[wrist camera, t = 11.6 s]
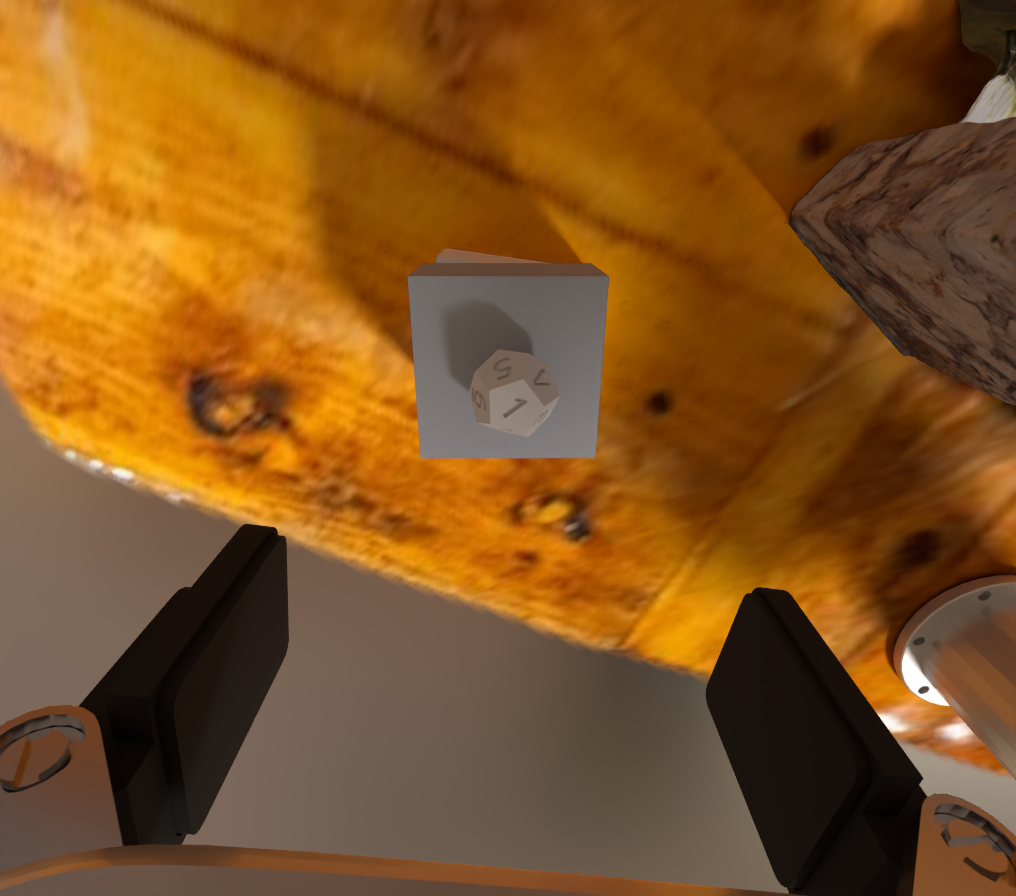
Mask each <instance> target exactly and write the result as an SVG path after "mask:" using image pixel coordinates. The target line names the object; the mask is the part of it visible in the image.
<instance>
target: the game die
mask: <svg viewBox="0 0 1016 896" xmlns="http://www.w3.org/2000/svg"><path fill="white" fill-rule="evenodd" d="M469 396H470V399H471V402H472V406H473V409H474V413H475V416H476V420H477V423H479V424H482V425H485V426H488V427H490V428H493V429H496V430H499V431H503V432H507V433H512V434H516V435H521V436H525V437H529V436H530V435H531V434H532V433H533V432H534V431H535V430H536V429H537V428H538V427H539V426H540V425H541V424H542V423H543V422H544V421H545V420H546V419H547V418H548V416H549V415H550V414H551V412H552V410H553V408H554V406H555V405H556V403H557V401H558V399H559V397H560V394H559V391H558V387H557V384H556V381H555V378H554V375H553V372H552V368H551V365H550V364H548V363H546V362H544V361H542V360H540V359H538V358H536V357H534V356H532V355H530V354H528V353H522V352H514V351H507V350H500V349H498V350H497V351H496V352H495V353H494V354H493V355H492V356H491V357H490V358H489V359H488V360H487V361H486V362H484V363H483V364H482V365H481V366H480V367H479V368H478V369H477V370H476V371H475V373H474V376H473V379H472V383H471V386H470V389H469Z"/></svg>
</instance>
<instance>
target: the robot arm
mask: <svg viewBox="0 0 1016 896" xmlns="http://www.w3.org/2000/svg"><path fill="white" fill-rule="evenodd" d="M287 589H288V588H287V546H286V538H285V537H284V536H279V535H278V532H277V529H276V528H274V527H268V526H260V525H251V524H244V525H243V526H242V527H240V529H239V530H238V531H237V532H236V534H235V535H234V536H233V537H232V539H231V540H230V541H229V542H228V543H227V544H226V546H225V547H224V548H223V549H222V550H221V552H220V553H219V554H218V555H217V557H216V558H215V559H214V560H213V561H212V563H211V564H210V565H209V566H208V567H207V569H206V570H205V571H204V572H203V573H202V575H201V576H200V577H199V578H198V580H197V581H196V582H195V583H194V584H193V586H192V587H184V588H182V589H180V590H178V592H176V593H175V594H174V595H173V596H172V597H171V599H170V600H169V601H168V602H167V603H166V605H165V606H164V607H163V608H162V609H161V610H160V612H159V613H158V614H157V615H156V616H155V618H154V619H153V620H152V621H151V622H150V623H149V624H148V626H147V627H146V628H145V629H144V630H143V631H142V633H141V634H140V635H139V636H138V637H137V639H136V640H135V641H134V642H133V643H132V644H131V645H130V647H129V648H128V649H127V650H126V651H125V652H124V654H123V655H122V656H121V657H120V658H119V660H118V661H117V662H116V663H115V664H114V666H113V667H112V668H111V669H110V670H109V671H108V672H107V674H106V675H105V676H104V677H103V678H102V679H101V681H100V682H99V683H98V684H97V685H96V687H95V688H94V689H93V690H92V691H91V692H90V693H89V695H88V696H87V697H86V698H85V699H84V700H83V702H82V703H81V704H80V705H79V706H72V705H59V706H48V707H45V708H41V709H38V710H34V711H30V712H27V713H25V714H23V715H20V716H18V717H16V718H14V719H12V720H9V721H7V722H6V723H4V724H3V725H1V726H0V896H1016V836H1015V835H1014V834H1013V833H1012V832H1011V831H1010V830H1008V829H1007V828H1006V827H1005V826H1004V825H1003V824H1002V823H1000V822H999V821H998V820H997V819H995V818H994V817H993V816H991V815H989V814H988V813H987V812H985V811H984V810H983V809H981V808H980V807H978V806H976V805H974V804H972V803H970V802H968V801H966V800H964V799H962V798H958V797H955V796H951V795H948V794H933V795H931V796H929V797H927V796H926V794H925V793H924V791H923V790H922V789H921V787H920V786H919V784H920V782H921V781H922V780H923V777H922V776H921V774H920V773H919V771H918V770H917V769H916V767H915V766H914V765H913V763H912V762H911V761H910V759H909V758H908V756H907V755H906V753H905V752H904V751H903V749H902V748H901V747H900V745H899V744H898V742H897V741H896V740H895V738H894V737H893V735H892V734H891V733H890V731H889V730H888V729H887V727H886V726H885V724H884V723H883V722H882V720H881V719H880V717H879V716H878V715H877V713H876V712H875V711H874V709H873V708H872V706H871V705H870V704H869V702H868V701H867V699H866V698H865V697H864V695H863V694H862V693H861V691H860V690H859V688H858V687H857V686H856V684H855V683H854V681H853V680H852V679H851V677H850V676H849V675H848V673H847V672H846V670H845V669H844V668H843V666H842V665H841V663H840V662H839V661H838V659H837V658H836V657H835V655H834V654H833V652H832V651H831V650H830V648H829V647H828V645H827V644H826V643H825V641H824V640H823V639H822V637H821V636H820V634H819V633H818V632H817V630H816V629H815V627H814V626H813V625H812V623H811V622H810V621H809V619H808V618H807V616H806V615H805V614H804V612H803V611H802V610H801V608H800V607H799V605H798V604H797V603H796V601H795V600H794V598H793V597H792V596H791V595H790V594H789V593H788V592H787V591H785V590H778V589H770V588H761V587H758V588H755V589H754V590H753V591H752V593H748V594H746V595H745V596H744V598H743V600H742V602H741V604H740V607H739V609H738V612H737V614H736V616H735V619H734V621H733V624H732V626H731V629H730V631H729V633H728V636H727V638H726V641H725V643H724V646H723V648H722V650H721V653H720V655H719V658H718V660H717V663H716V665H715V667H714V670H713V672H712V675H711V677H710V680H709V682H708V684H707V688H706V701H707V705H708V708H709V710H710V713H711V715H712V718H713V720H714V723H715V725H716V728H717V730H718V733H719V736H720V738H721V740H722V743H723V746H724V748H725V750H726V753H727V756H728V758H729V761H730V763H731V766H732V768H733V771H734V773H735V776H736V778H737V781H738V783H739V786H740V788H741V791H742V793H743V796H744V798H745V801H746V803H747V806H748V808H749V811H750V814H751V816H752V819H753V821H754V824H755V826H756V829H757V831H758V833H759V836H760V839H761V841H762V844H763V846H764V849H765V851H766V854H767V856H768V859H769V861H770V864H771V866H772V869H773V871H774V874H775V876H776V878H777V880H778V881H779V882H780V884H781V885H782V886H784V887H787V889H788V891H789V894H785V893H775V892H765V891H754V890H743V889H733V888H722V887H711V886H700V885H689V884H680V883H669V882H658V881H648V880H637V879H625V878H613V877H603V876H591V875H581V874H569V873H558V872H546V871H535V870H523V869H512V868H500V867H489V866H478V865H466V864H454V863H442V862H430V861H418V860H406V859H393V858H381V857H369V856H357V855H344V854H333V853H332V854H331V853H320V852H308V851H292V850H276V849H260V848H245V847H244V848H243V847H229V846H213V845H181V844H182V843H183V841H184V839H185V837H186V835H187V834H192V835H194V834H196V833H197V832H198V831H199V830H200V828H201V826H202V824H203V823H204V820H205V819H206V817H207V815H208V813H209V810H210V808H211V807H212V804H213V802H214V800H215V798H216V796H217V794H218V792H219V790H220V788H221V786H222V784H223V782H224V780H225V778H226V776H227V774H228V772H229V770H230V768H231V766H232V764H233V762H234V760H235V758H236V756H237V754H238V751H239V750H240V747H241V746H242V743H243V741H244V739H245V737H246V735H247V733H248V731H249V729H250V727H251V725H252V723H253V721H254V719H255V717H256V715H257V713H258V711H259V709H260V707H261V705H262V703H263V701H264V699H265V696H266V694H267V693H268V691H269V689H270V687H271V685H272V682H273V680H274V678H275V676H276V674H277V672H278V670H279V668H280V666H281V664H282V662H283V660H284V658H285V655H286V652H287V648H288V642H289V630H288V591H287ZM893 660H894V668H895V670H896V672H897V675H898V677H899V678H900V679H901V680H902V682H903V683H904V684H905V685H906V687H907V688H908V689H909V690H910V691H911V692H912V693H913V694H914V695H916V696H917V697H919V698H921V699H923V700H925V701H927V702H931V703H934V704H938V705H946V706H951V707H952V709H953V710H954V711H955V712H956V713H957V714H958V715H959V716H960V718H961V719H962V720H963V721H964V722H965V723H966V724H967V726H968V727H969V728H970V729H971V730H972V731H973V732H974V733H975V735H976V736H977V737H978V738H979V739H980V740H981V741H982V742H983V744H984V745H985V746H986V747H987V748H988V749H989V750H990V752H991V753H992V754H993V755H994V756H995V757H996V758H997V759H998V761H999V762H1000V763H1001V764H1002V765H1003V766H1004V767H1005V769H1006V770H1007V771H1008V772H1009V773H1010V774H1011V775H1012V776H1013V778H1014V779H1015V780H1016V575H999V576H991V577H986V578H980V579H976V580H973V581H970V582H966V583H963V584H960V585H958V586H956V587H954V588H952V589H950V590H947V591H945V592H943V593H942V594H940V595H939V596H937V597H935V598H934V599H932V600H931V601H929V602H928V603H927V604H926V605H924V606H923V607H922V608H921V609H919V610H918V611H917V612H916V613H915V614H914V616H913V617H912V618H911V619H910V620H909V621H908V622H907V624H906V625H905V627H904V628H903V630H902V631H901V633H900V635H899V637H898V640H897V642H896V644H895V648H894V655H893Z"/></svg>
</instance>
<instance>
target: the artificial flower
mask: <svg viewBox="0 0 1016 896" xmlns="http://www.w3.org/2000/svg"><path fill="white" fill-rule="evenodd" d="M959 8H960V12H961V19H962V21H961V33H962V42H963V45H965V46H966V47H967V48H968V49H970V51H971V52H974V53H982V54H984V55H986V56H988V57H989V58H990V59H991V61H992V62H993V63H994V64H995V66H996V71H995V72H994V74H993V76H992V78H991V79H990V81H989V82H988V83H987V84H986V85H985V87H984V88H983V90H982V91H981V93H980V94H979V96H978V98H977V99H976V101H975V102H974V104H973V105H972V107H971V109H970V110H969V112H968V113H967V115H966V116H965V117H964V118H963V119H962V120H961V121H959V122H958V123H963V122H974V123H992V122H997V121H1000V120H1002V119H1006V118H1011V117H1016V0H959Z"/></svg>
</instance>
